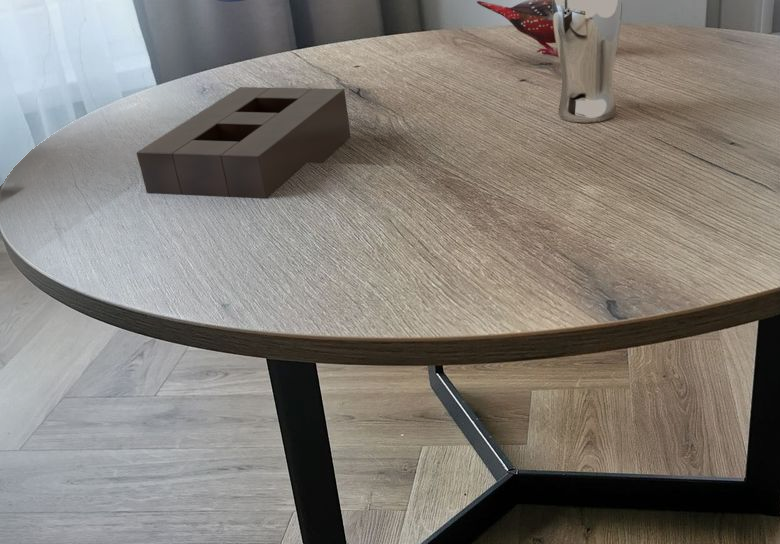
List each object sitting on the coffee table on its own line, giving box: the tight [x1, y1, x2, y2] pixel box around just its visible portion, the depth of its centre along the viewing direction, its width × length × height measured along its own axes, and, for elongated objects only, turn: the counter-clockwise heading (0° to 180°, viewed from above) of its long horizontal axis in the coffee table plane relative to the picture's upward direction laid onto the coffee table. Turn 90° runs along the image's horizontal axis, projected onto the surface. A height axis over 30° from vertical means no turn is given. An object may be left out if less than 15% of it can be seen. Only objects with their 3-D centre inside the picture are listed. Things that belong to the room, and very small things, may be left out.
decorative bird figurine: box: [476, 0, 558, 57], centre depth 121 cm, size 3×18×10 cm, turn 63°
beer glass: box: [552, 0, 623, 124], centre depth 98 cm, size 7×7×15 cm
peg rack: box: [136, 86, 352, 200], centre depth 91 cm, size 12×20×5 cm, turn 167°
